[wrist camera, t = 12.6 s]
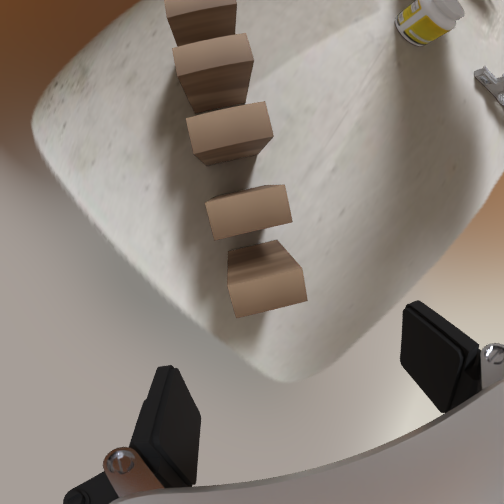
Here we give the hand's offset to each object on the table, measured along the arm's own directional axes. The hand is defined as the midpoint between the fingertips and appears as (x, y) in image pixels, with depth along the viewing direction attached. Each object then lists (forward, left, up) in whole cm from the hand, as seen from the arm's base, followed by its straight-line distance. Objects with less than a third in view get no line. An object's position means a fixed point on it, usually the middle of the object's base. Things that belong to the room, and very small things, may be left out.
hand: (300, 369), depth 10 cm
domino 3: (-11, 0, -19) cm, 21 cm away
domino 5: (0, 0, -19) cm, 19 cm away
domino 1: (-22, 0, -19) cm, 29 cm away
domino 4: (-5, 0, -19) cm, 19 cm away
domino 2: (-16, 0, -19) cm, 25 cm away
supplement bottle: (-25, +27, -19) cm, 41 cm away
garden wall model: (-17, +44, -19) cm, 51 cm away
